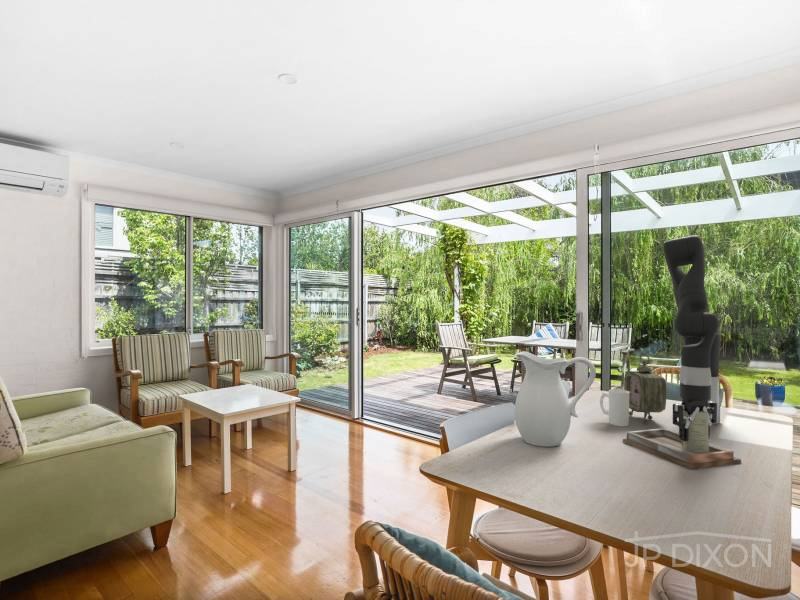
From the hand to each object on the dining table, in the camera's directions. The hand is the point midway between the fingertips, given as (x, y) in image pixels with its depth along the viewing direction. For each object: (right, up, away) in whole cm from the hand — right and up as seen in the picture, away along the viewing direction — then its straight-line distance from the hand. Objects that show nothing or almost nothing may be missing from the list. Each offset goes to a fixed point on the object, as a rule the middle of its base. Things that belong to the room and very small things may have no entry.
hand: (694, 439), depth 130 cm
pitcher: (-36, -5, +12) cm, 39 cm away
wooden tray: (-2, -5, +5) cm, 7 cm away
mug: (-6, -5, +35) cm, 36 cm away
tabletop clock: (+8, -5, +40) cm, 41 cm away
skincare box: (0, -4, 0) cm, 4 cm away
